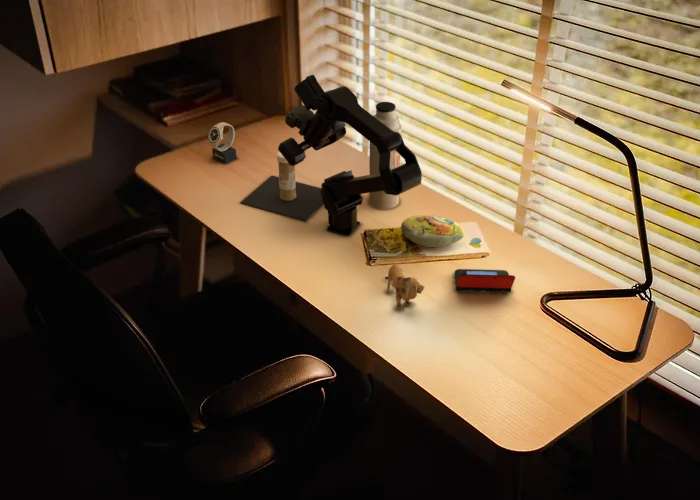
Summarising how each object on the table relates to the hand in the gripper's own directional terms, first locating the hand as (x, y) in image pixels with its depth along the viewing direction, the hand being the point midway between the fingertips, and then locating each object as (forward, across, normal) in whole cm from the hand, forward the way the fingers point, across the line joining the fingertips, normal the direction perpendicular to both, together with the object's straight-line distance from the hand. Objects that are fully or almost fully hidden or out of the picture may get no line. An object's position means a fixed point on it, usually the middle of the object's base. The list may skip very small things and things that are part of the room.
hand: (302, 156), depth 205 cm
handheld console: (-22, -1, +55) cm, 59 cm away
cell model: (-9, -8, +38) cm, 40 cm away
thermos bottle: (+3, -13, +21) cm, 25 cm away
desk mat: (+13, +3, +4) cm, 14 cm away
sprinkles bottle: (+13, +3, +4) cm, 14 cm away
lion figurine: (-16, +15, +45) cm, 50 cm away
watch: (+31, +1, -20) cm, 37 cm away
